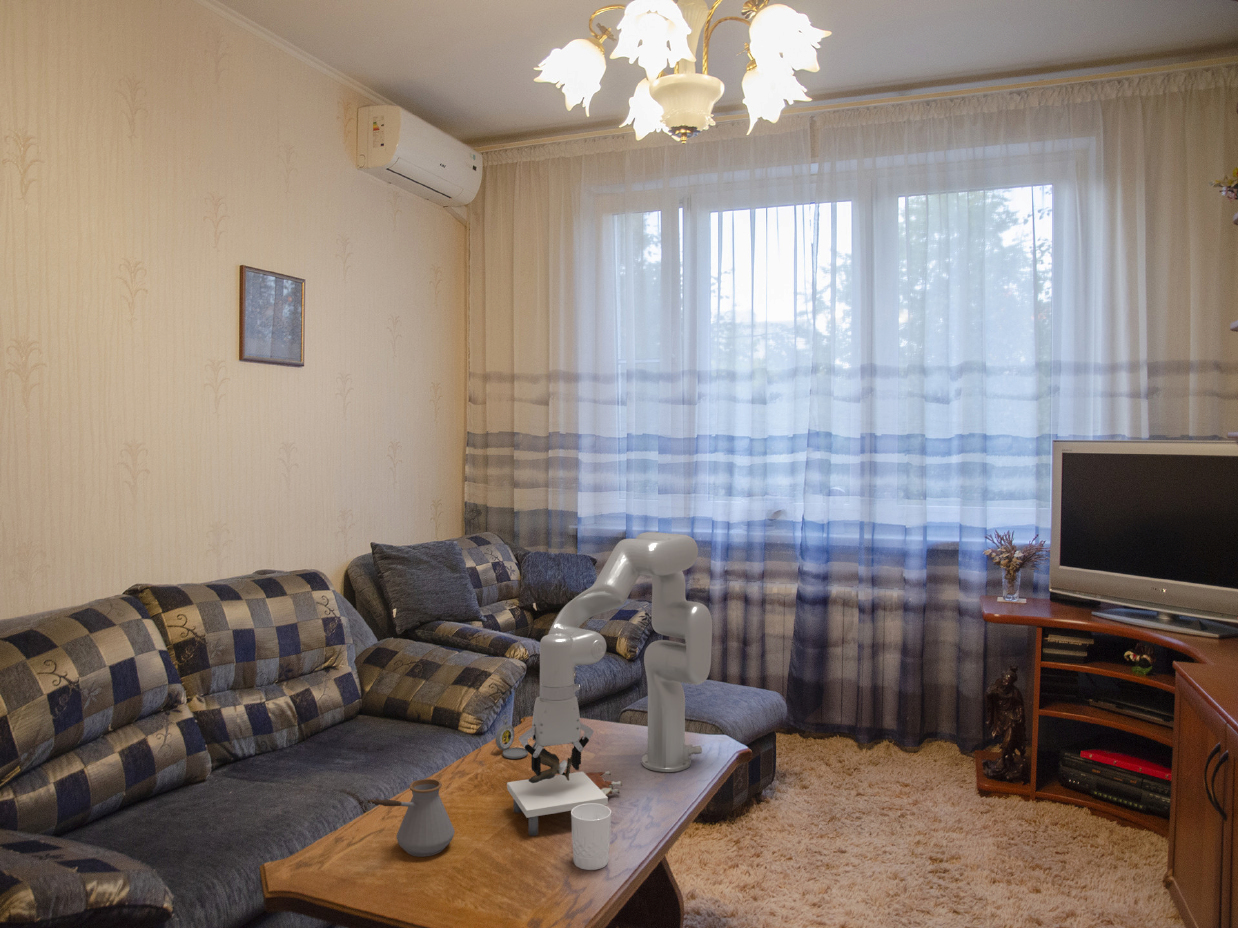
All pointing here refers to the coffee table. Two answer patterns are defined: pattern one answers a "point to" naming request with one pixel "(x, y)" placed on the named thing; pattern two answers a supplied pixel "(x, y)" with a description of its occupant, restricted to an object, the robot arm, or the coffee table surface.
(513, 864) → the coffee table surface
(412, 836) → the coffee pot
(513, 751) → the pocket watch
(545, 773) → the eagle figurine
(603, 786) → the bull figurine
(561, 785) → the display shelf
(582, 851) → the white cup
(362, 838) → the coffee table surface
